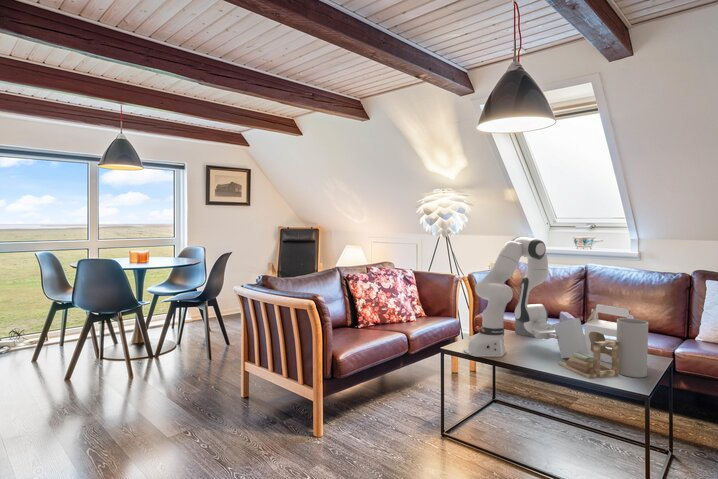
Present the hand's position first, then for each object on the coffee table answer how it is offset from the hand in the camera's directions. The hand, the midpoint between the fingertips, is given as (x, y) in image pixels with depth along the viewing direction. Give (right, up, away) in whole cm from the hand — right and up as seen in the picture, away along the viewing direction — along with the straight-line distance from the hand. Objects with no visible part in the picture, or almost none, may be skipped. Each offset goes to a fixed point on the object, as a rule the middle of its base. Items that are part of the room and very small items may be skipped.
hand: (561, 337), depth 234 cm
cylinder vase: (+21, -12, -26) cm, 35 cm away
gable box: (+24, -11, -4) cm, 27 cm away
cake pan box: (+14, -10, +24) cm, 29 cm away
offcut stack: (-2, -10, -24) cm, 26 cm away
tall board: (+2, -8, -10) cm, 13 cm away
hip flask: (-2, -9, +47) cm, 48 cm away
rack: (+3, -11, -21) cm, 24 cm away
